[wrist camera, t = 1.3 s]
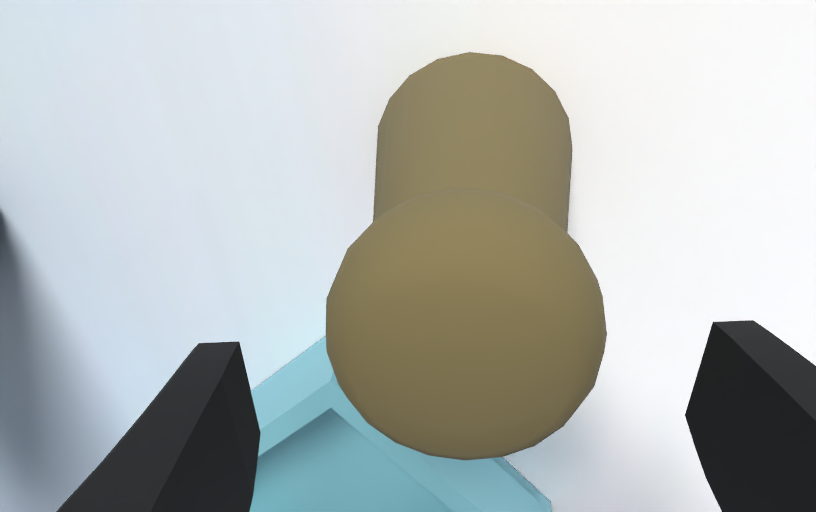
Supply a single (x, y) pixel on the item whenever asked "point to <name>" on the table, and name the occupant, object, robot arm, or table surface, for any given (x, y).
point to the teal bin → (361, 457)
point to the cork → (468, 269)
